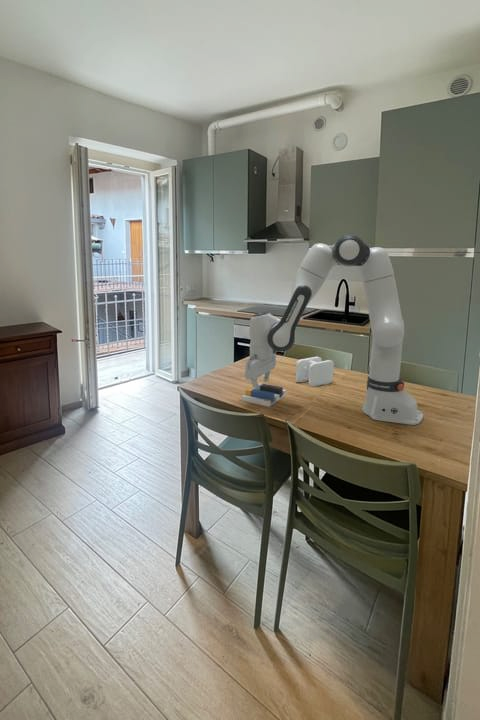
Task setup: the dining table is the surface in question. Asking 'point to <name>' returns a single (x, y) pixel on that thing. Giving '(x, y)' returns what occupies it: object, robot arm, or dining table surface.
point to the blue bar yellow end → (260, 394)
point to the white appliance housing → (262, 401)
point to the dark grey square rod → (270, 389)
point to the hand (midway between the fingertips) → (260, 384)
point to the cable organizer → (314, 371)
